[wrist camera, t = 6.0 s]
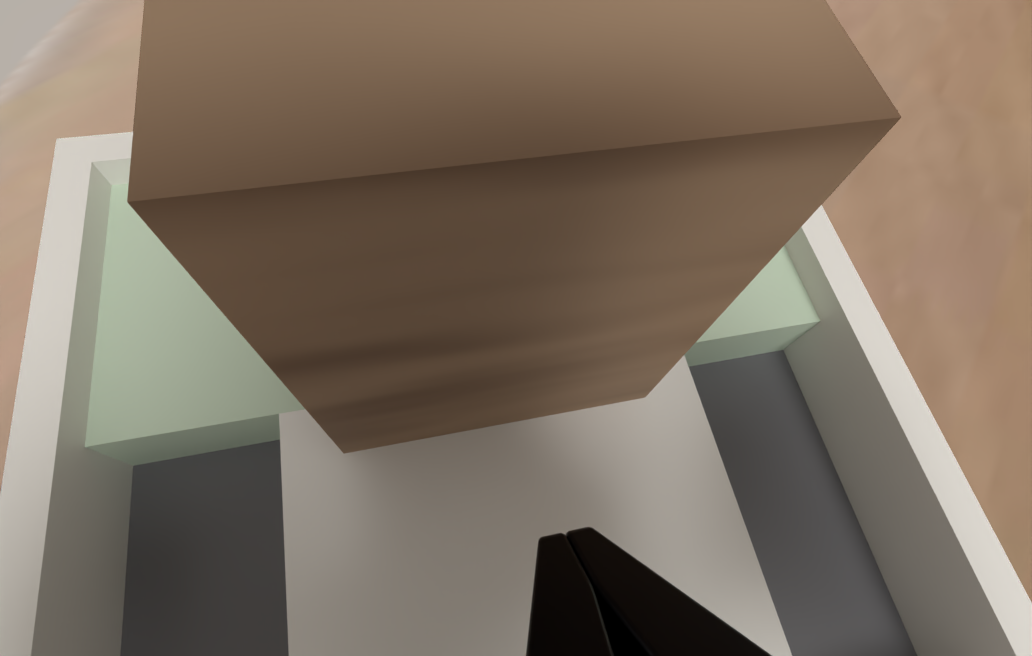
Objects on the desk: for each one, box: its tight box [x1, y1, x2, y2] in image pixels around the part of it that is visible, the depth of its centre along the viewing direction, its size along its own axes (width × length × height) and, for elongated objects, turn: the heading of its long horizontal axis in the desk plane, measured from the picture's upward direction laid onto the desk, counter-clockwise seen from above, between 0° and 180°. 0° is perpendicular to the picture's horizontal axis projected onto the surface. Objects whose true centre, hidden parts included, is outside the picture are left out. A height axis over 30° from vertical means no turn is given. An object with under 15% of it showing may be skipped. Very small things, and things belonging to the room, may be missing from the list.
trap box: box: [0, 132, 1032, 656], centre depth 15 cm, size 22×22×4 cm
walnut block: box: [127, 0, 901, 454], centre depth 12 cm, size 8×8×10 cm
